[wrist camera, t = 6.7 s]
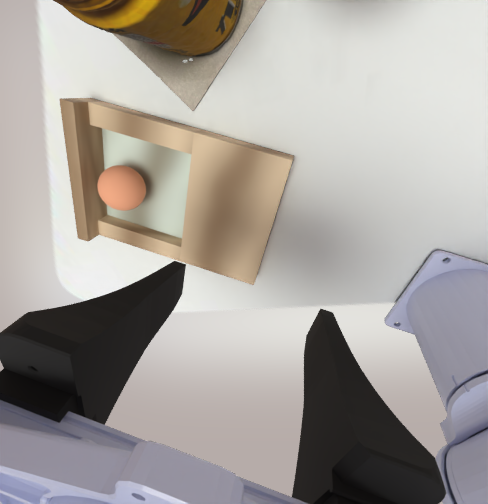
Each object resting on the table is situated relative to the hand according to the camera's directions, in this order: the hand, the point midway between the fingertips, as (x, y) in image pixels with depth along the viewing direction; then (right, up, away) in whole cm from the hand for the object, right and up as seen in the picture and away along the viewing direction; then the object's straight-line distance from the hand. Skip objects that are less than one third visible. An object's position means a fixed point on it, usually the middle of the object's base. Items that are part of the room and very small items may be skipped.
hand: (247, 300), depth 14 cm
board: (-5, +7, +9) cm, 13 cm away
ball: (-10, +8, +8) cm, 14 cm away
